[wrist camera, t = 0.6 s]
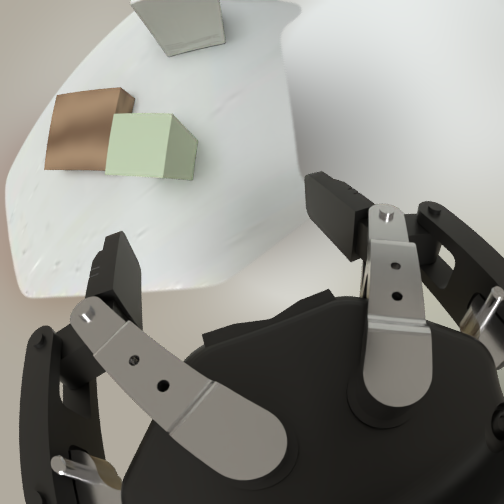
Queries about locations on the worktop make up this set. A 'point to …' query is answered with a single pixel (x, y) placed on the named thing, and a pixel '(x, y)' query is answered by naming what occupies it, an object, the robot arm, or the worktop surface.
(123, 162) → the sage block
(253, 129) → the worktop surface
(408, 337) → the robot arm
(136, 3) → the skincare box
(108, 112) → the walnut riser block
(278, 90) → the worktop surface
